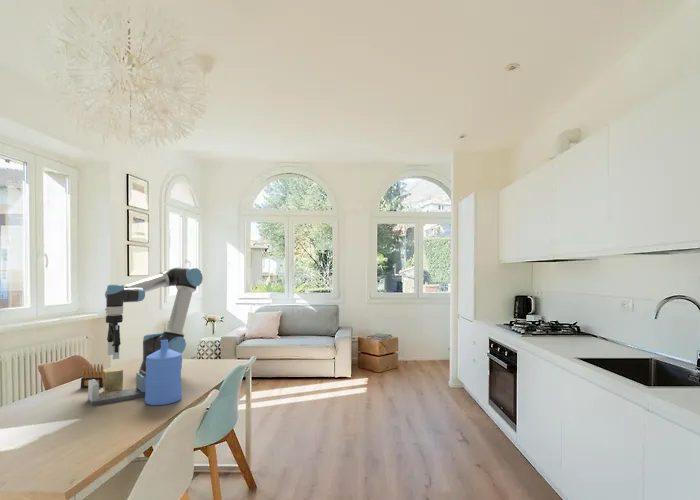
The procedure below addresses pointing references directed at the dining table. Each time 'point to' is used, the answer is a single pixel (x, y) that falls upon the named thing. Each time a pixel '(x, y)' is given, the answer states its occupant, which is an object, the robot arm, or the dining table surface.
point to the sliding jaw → (141, 380)
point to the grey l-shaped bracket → (110, 394)
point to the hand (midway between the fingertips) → (113, 356)
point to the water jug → (163, 376)
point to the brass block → (112, 380)
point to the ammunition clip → (92, 375)
